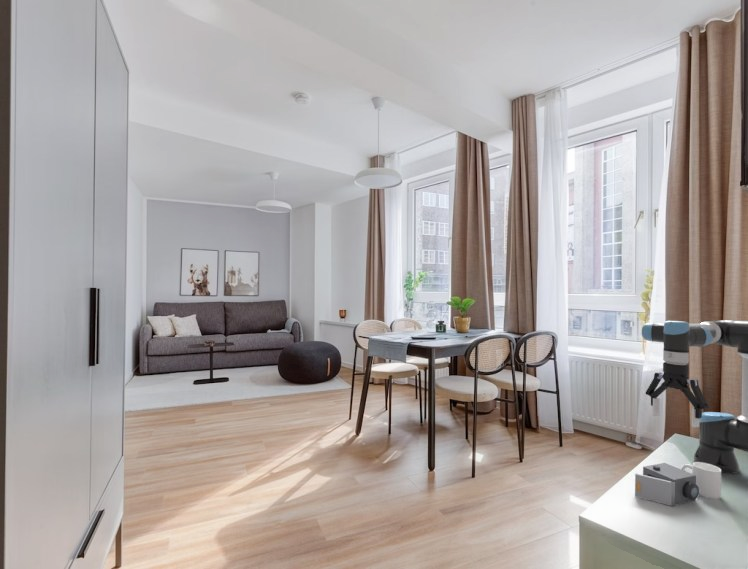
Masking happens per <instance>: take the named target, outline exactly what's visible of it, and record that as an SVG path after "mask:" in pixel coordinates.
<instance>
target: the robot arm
mask: <svg viewBox="0 0 748 569" xmlns="http://www.w3.org/2000/svg"><path fill="white" fill-rule="evenodd" d="M641 336H642V338H643V339H644V340H646V341H650V342H652V343H653V342H654V343H663V349H662V350H663V351H662V352H663V354H662V356H663V359H662V360H663V362H662V372H663V373H662V372H654V374H653V378H652V380H651V382H650V384H649V386H648V387H647V389H646V390H645V394H646V395H647V396H649V397H650V406H652V416H653V417H657V416H660V407H661V406H660V404H661V403H660V400H661V399H660V397H659V396H660V395H661V394H662V393H663V392H665V391H666V390H667V389H668V388H670V389H675V390H680V392H682V393H683V395H684V396H685V397H686V398H687V399H688V401H689V403H690V404H691V405H692V407H693V408H692V407H691V427H692V428H699V431H698V432H699V433H698V435H699V436H698V437H699V439H698V440H699V441H698V442H699V443H698V446H697V449H696V450H695V452H694V456H693V461H694V462H702V463H707V464H711V465H714V466H716V467H718V468H720V469H721V473H726V474H737V473H739V472H740V465H739V462H738V460H737V456H736V455H735V449H737V450H740V451H743V452H747V453H748V320H736V319H722V320H711V321H702V322H701V323H689V322H688V321H681V320H680V321H679V320H666V321H665V322H664V323H657V322H656V323H655V322H647V323H644V324H643V326H642V327H641ZM710 344H713V345H714V344H715V345H719V346H725V347H730V348H736V349H737V354H738V355H739V356H741V358H742V359H741V360H742V364H741V366H742V367H741V369H742V370H741V414H740V415H738V416H736V417H735V415H733V414H731V413H728V412H717V411H716V412H715V411H704V412H703V411H702V410H705V409H709V404H708V402H707V400H706V399H705V398H706V397H705V396H704V394H703V392H702V390H701V388H700V385H699V380H698V379H689V375H690V374H689V370H690V369H689V367H690V366H689V362H690V347H699V348H700V347H704V346H707V345H710ZM662 379H663V382H662V383H661V384H660V382H661V381H662ZM659 384H660V386H659ZM689 386H690V387H689ZM735 418H736V419H735ZM694 462H693V463H694Z"/></svg>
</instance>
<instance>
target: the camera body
mask: <svg viewBox="0 0 748 569" xmlns="http://www.w3.org/2000/svg"><path fill="white" fill-rule="evenodd" d="M681 469H682V468H679V467H676V466H674V465H671V464H668V463H666V462H662V463H657V464H652V465H651V464H650V465H645V466H643V467H642V475H646V476H650V477H654V478H658V479H663V480H667V481H671V482H675V506H677V505H682V504H686V503H689V502H694V501H696V500H697V499H698V497H699V495H698V494H699V488H698V486H697V485H696V475H694V474H692V473H691V472H689V471H687V470H685V471H684V470H681Z"/></svg>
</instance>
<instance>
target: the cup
mask: <svg viewBox="0 0 748 569" xmlns="http://www.w3.org/2000/svg"><path fill="white" fill-rule="evenodd" d="M687 468H688V469H691V470H692V473H691V474H694V475H696V485H697V486H698V488H699V494H698V496H701V497H703V498H706V497H707V499H710V498H711V500H719V499H721V496H722V472H721V469H720V468H718V467H716V466H714V465H711V464H707V463H702V462H693V463H692V465H691V464H688V463H686V464H683V465H682V467H681V468H680V469H681V470H684V471H686V469H687Z"/></svg>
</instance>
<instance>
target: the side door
mask: <svg viewBox="0 0 748 569" xmlns="http://www.w3.org/2000/svg"><path fill="white" fill-rule="evenodd" d="M634 474H635V479H634V482H635V483H634V485H635V486H634V497H637V498H641V499H645V500H649V501H652V502H655V503H660V504H663V505H667V506H671V507H675V506H676V505H675V482H671V481H667V480H663V479H658V478H654V477H650V476H646V475H643V474H641V473H634Z"/></svg>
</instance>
